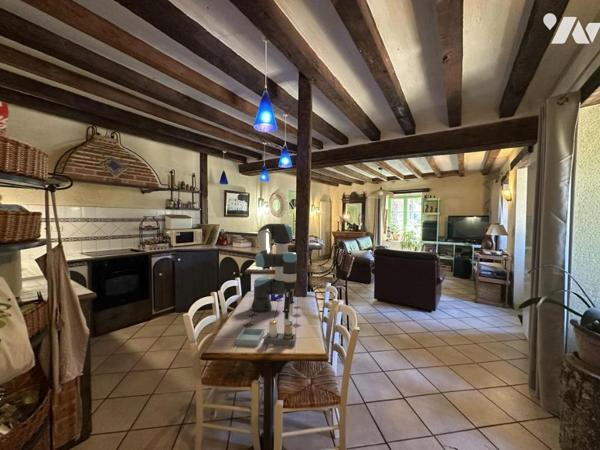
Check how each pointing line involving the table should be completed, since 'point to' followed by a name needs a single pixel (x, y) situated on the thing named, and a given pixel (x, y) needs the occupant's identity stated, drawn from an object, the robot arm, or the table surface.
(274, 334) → the fuse
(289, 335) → the fuse
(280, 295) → the cable clip
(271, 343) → the fuse block
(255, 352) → the table surface
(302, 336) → the table surface
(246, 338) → the parts tray
